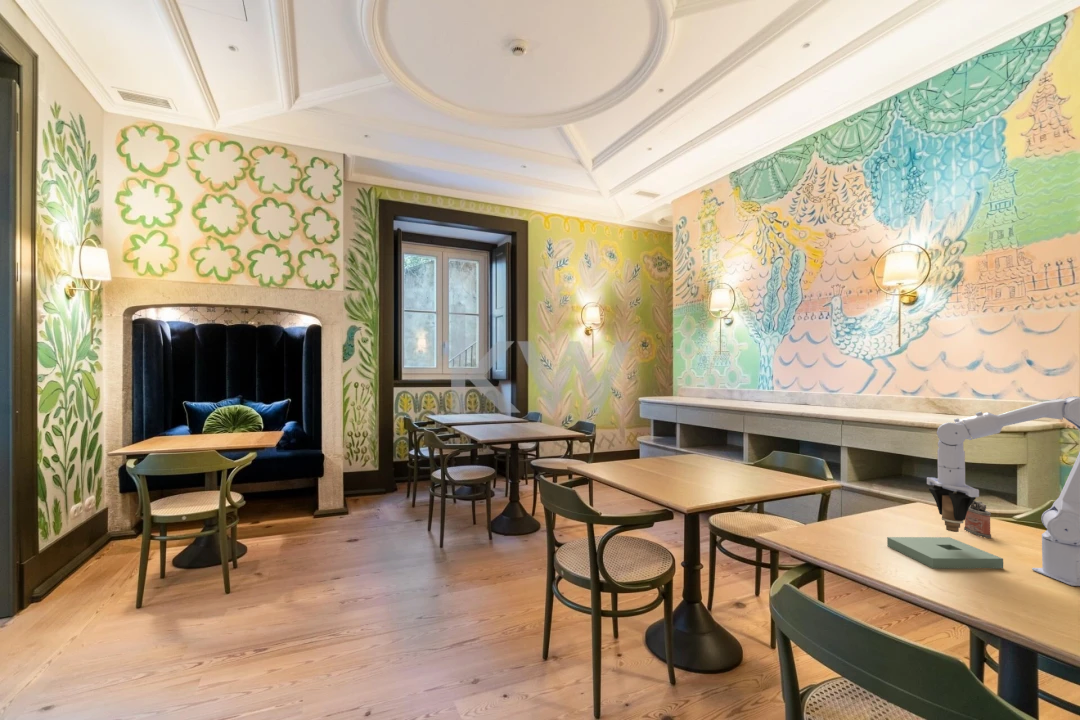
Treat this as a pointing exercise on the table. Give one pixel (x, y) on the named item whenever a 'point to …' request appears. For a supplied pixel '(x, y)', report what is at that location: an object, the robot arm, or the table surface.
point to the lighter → (978, 520)
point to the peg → (949, 515)
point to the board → (944, 552)
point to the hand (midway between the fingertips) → (951, 517)
